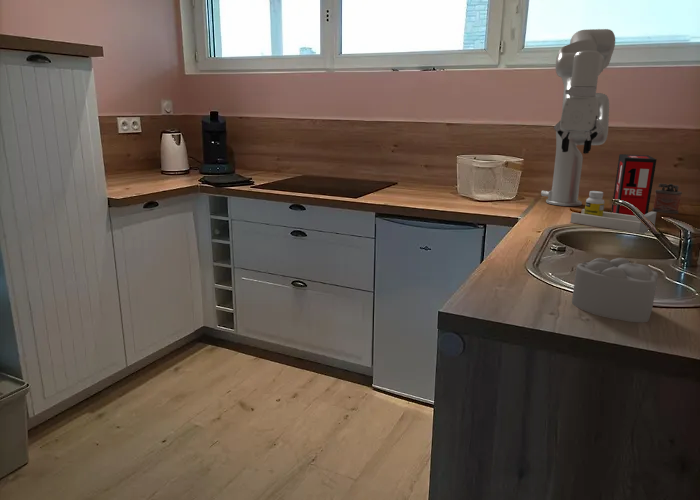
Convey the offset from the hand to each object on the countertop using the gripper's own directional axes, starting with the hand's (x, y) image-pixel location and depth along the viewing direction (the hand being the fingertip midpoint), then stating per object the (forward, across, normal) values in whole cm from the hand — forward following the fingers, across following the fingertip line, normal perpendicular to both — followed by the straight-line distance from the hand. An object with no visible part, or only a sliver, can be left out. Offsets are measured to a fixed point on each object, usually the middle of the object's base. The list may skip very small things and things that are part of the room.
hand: (575, 152), depth 172 cm
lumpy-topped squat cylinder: (+22, +37, -77) cm, 88 cm away
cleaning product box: (+22, +13, +20) cm, 32 cm away
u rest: (+22, +13, 0) cm, 25 cm away
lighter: (+22, +20, +39) cm, 49 cm away
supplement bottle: (+22, +8, 0) cm, 23 cm away
